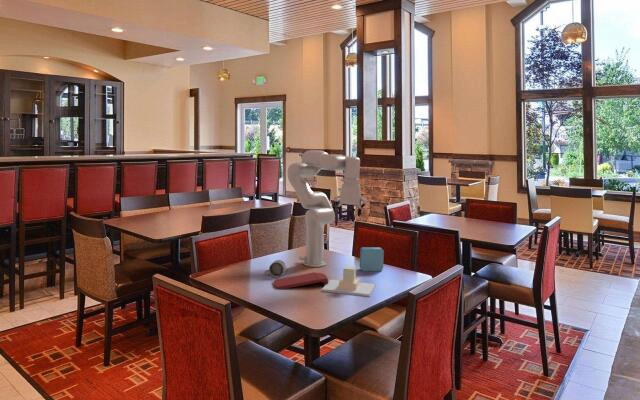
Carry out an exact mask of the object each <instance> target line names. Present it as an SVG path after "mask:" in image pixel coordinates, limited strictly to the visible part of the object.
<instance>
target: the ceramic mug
mask: <svg viewBox="0 0 640 400" xmlns="http://www.w3.org/2000/svg"><path fill="white" fill-rule="evenodd" d="M286 268H287V267H286V263H285V262H284V261H283V260H281V259H280V260H279V259H278V260H274V261H273V262H272V263H270V265H269V267H268V269H267V270H264V272H263V273H264V276H265V275H271V276H272V277H273V278H280V277H282V275H283V274H284V273H285V271H286Z"/></svg>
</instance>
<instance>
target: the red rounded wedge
mask: <svg viewBox="0 0 640 400" xmlns="http://www.w3.org/2000/svg"><path fill="white" fill-rule="evenodd" d="M272 282H273V286H274V288H275V289H276V290H284V289H289V288H295V287H302V286H306V285H310V284H311V285H312V284H316V283H322V285H323V287H324V286H325V285H326V284H328V282H329V279H328V277H327V276H326V273H322V272H315V271H314V272H310V273H309V272H308V273H304V274H298V275H292V276H286V277H281V278H280V277H279V278H275V279H274V280H272Z"/></svg>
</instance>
